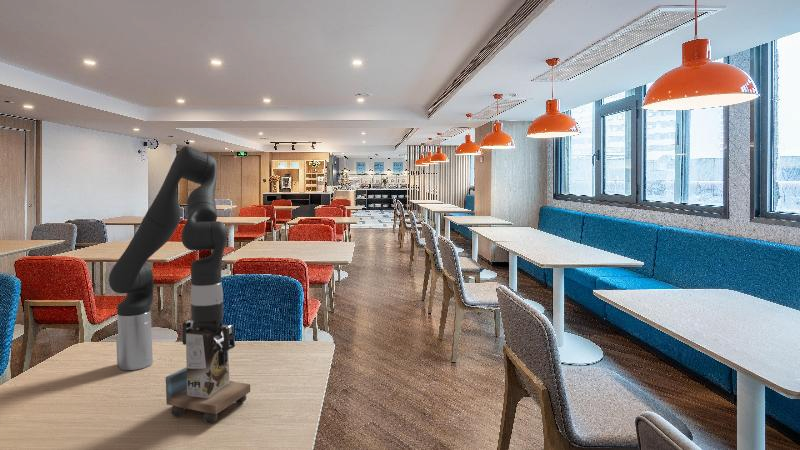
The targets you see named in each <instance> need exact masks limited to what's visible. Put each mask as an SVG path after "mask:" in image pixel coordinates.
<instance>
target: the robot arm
mask: <svg viewBox="0 0 800 450" xmlns="http://www.w3.org/2000/svg"><path fill="white" fill-rule="evenodd" d="M217 163H218V162H217V160H216V159H215V157H214V156H212V155H209V154H207V153H205V152H203V151H200V150H198V149H196V148H195V147H194V148H193V147H192V146H187V145H184V146H183V147H181V148H180V149H179V150H178V152H177V154H176V155H175V158H174V159H173V161H172V163H171V166H170V167H169V170H168V172H167V175H166V176H165V179H164V180H163V183H162V184H161V187H160V189H159V191H158V193H157V194H156V197H155V198H154V200H153V202H152V203H151V205H150V206H149V208H148V209H147V211H146V213H145V215H144V217H143V218H142V221H141V223H140V224H139V226H138V228H137V229H136V232H135V233H134V235H133V237H132V238H131V240H130V242H129V244H128V245H127V247H126V248H125V250H124V251H123V253H122V254H121V256H120V257H119V258H118V260H117V261H116V263H114V265H113V266H112V269H111V270H110V273H109V276H108V284H109V288H111V291H113V292H114V293H116V294H127V295H126V296H125V297H124V299H123V300H122V301H120V302H119V304H117V307H116V315H117V317H116V318H117V336H116V338H115V341H116V343H115V344H116V363H117V364H116V365H117V367H119V369H121V370H122V371H135V370H140V369H144V368H148V367H150V366H151V365H152V364H154V363H153V362H154V361H153V360H154V359H153V333H152V332H153V331H152V311H151V310H152V309H151V307H152V303H153V300H154V272H153V269H152V267H151V265H150V264H149V263H148V262H147V261H148V260H149V259H150V258H151V257H152V256H153V255H154V254H155V253H156V252H158V251H159V250H160V249H161V248H162V247H163V246H164V245H165V244H167V242H168V241H169V240H170V239H171V237H172V236H173V234H174V233H175V231H176V229H177V228H178V226H179V224H180V222H181V209H180V203H179V197H178V196H179V195H178V187H179V186H178V185H179V183H180V181H181V180H182V179H185V180H187V181H189V182H192V183H195V184H198V185H200V186H198V187H196V188H195V189H194V190H192V191H191V192H190V194H189V195H188V197H187V201H186V207H187V208H186V209H187V219H186V221H185V223H184V225H183V228H182V231H181V242H182V246H184V247H185V248H186V249H187V250H189V251H205V250H207V251H209V250H212V252H211V253H210V255H208V256H207V257H203V258H199V259H196V260H193V261H192V262H191V264H190V282H191V283H190V318H191V319H189V320H187V321H186V320H185V321H184V322H182V345H184V346H186V333H188V332H190V331H192V330H195V329H196V331H201V330H205V331H207V332H210V331H214V332H215V335H216V336H217V335H220V334H221V339H219V340H217V339H216V338H215V337H214V345H215V346H216V347H217V349H218V351H219V352H218V365H219V366H220V367H222V366H224V365H226V363H227V362H228V350H229V351H230V350H231V349H234V348H235V346H236V344H235V331H234V325H233V324H229V325H228V324H227V325H228V326H223V325H224V324H223V318H224V291H223V290H224V289H223V283H222V262H223V257H224V256H223V255H224V252H225V248H226V245H227V242H228V236H229V231H228V228H227V226H226V225H225V223H224V222H222V221H217V219H218V212H217V211H218V210H217V205H216V187H217V177H218V164H217ZM220 343H221V344H222V345H221V344H220ZM222 346H223V347H222Z"/></svg>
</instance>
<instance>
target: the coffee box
mask: <svg viewBox="0 0 800 450" xmlns="http://www.w3.org/2000/svg"><path fill="white" fill-rule="evenodd" d="M223 326H228V324H223ZM214 337H215V338H216V339H217V340H219V339H221V334H220V335H217V336H216V335H215V332H214V331H210V332H207V331H205V330H201V331H196V329H195V330H194V329H193V330H192V331H190V332H188V333H186V345H185V351H186V352H185V353H186V356H185V357H186V362H185V363H186V367H187V396H191V397H199V398H206V399H208V398H210V397H212V396H213V395H214V394H216V393H217V392H219V391H220V390H222V389H223V388H224V387H226V386H227V385H229V381H230V359H229V358H230V356H229V355H230V354H229V352H230V350H228V362H227V363H226V365H224V366H222V367H220V366H219V365H218V352H219V351H218V349H217V347H216V346H215V345H214ZM220 344H221V343H220ZM221 345H222V344H221ZM222 347H223V346H222Z"/></svg>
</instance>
